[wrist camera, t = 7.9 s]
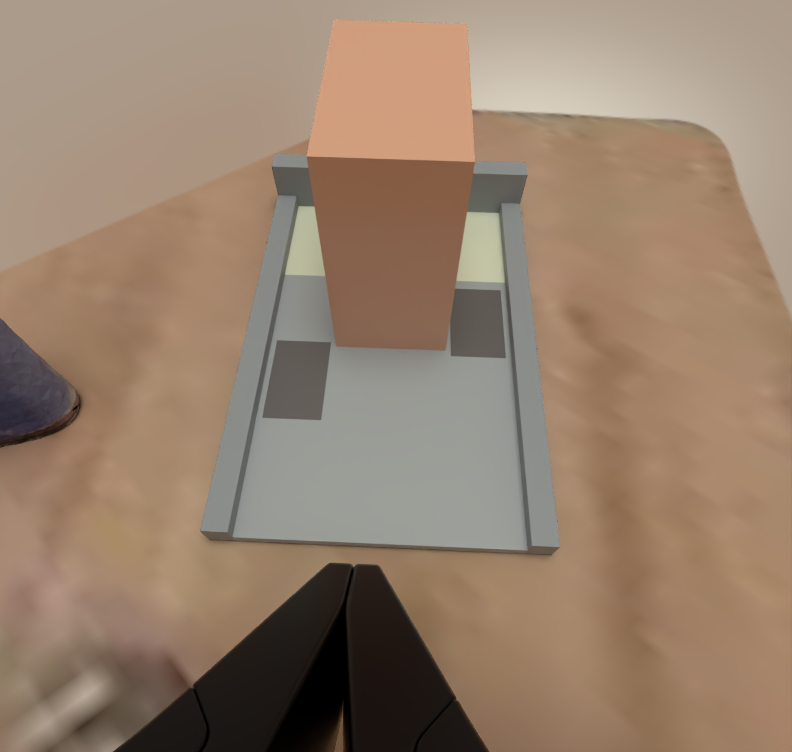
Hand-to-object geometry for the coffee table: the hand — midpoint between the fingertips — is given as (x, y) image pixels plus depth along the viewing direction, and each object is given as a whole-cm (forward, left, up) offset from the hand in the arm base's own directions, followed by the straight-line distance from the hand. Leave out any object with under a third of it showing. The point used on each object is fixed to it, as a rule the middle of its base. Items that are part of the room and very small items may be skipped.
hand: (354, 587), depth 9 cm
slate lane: (+5, +11, -11) cm, 17 cm away
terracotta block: (+7, +15, -11) cm, 19 cm away
